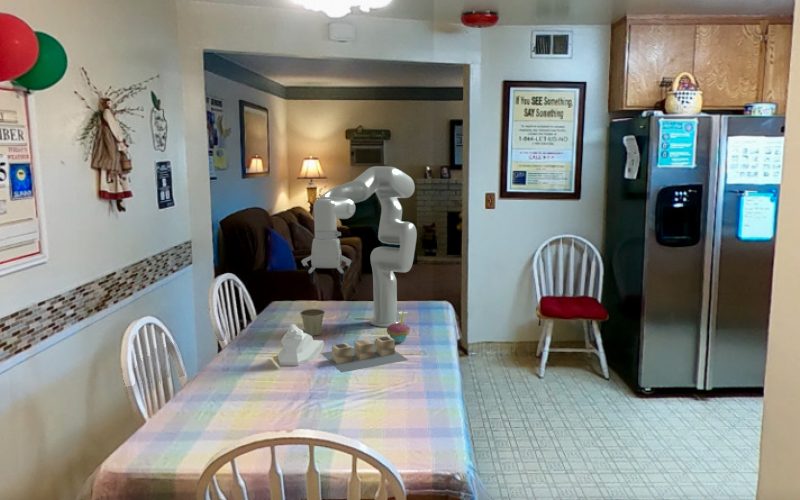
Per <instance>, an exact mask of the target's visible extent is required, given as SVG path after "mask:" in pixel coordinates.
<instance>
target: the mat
mask: <svg viewBox="0 0 800 500" xmlns="http://www.w3.org/2000/svg"><path fill="white" fill-rule="evenodd" d="M373 347H374V358H368V359H363V360H359V359H358V358H357V357H356V356H355V355H354V347H351V349H352V362H346V363H340V364H337V363H336V362H335V361H334V360H333V359H332V350H331V351H325V352H320V354H321V355H322V356H323V357H324V358H326V359H327V361H328V362H330V363H331V364H332V365H333V366H334V367H335V368H336V369H337V370H338V371H339V372H340V373H347V372H352V371H358V370H361V369H362V370H363V369H367V368H368V369H369V368H374V367H378V366H383V365H389V364H393V363H400V362H405V361H409V359H407V357H405V356H403V355H402V354H400V352H398V351H396V350H395V354H391V355H385V356H381V355H379V354H378V353H377V352H376V343H375V344H374V343H373Z"/></svg>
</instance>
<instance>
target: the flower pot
mask: <svg viewBox="0 0 800 500" xmlns="http://www.w3.org/2000/svg"><path fill="white" fill-rule="evenodd" d="M300 315H301V319H302V323H303V329H304V333H306V334H309V335H310V336H312V337H313V336H319V335H321V334H322V328H323V321H324V315H325V310H324V309H320V308H319V309H317V308H312V309H311V308H310V309H304V310H301V312H300Z"/></svg>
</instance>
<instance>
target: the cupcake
mask: <svg viewBox="0 0 800 500" xmlns="http://www.w3.org/2000/svg"><path fill="white" fill-rule="evenodd" d="M402 312H405V310H403V311H402ZM403 315H404V313H402V316H401V318H400V319H401V323H400V322H399V323H393V324H391V325H390V326H388V327H386V333H387V334H388V336H389V337H391V338H392V339H394V340H395V343H403V342H406V339H407V336H408V335H409V334H410V330H411V327H409V326H408V324H406V323H404V322H403V321H404V317H403Z"/></svg>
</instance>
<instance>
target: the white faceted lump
mask: <svg viewBox="0 0 800 500" xmlns="http://www.w3.org/2000/svg"><path fill="white" fill-rule="evenodd" d="M280 342H281V343H282V344H281V345H282V347H281V349H280V351H279V352H278V353H277V358H278V362H279V365H280V366H302V365H305V364H308V363H310V362H313V361H315V360H317V359H318V358H319V356H320V354H321V353H322V350H323V348H324V346H325V342H324V340H322V339H321V340H319V339H313V336H310V335H309V334H306V333H305V332H304V331H303V330H302V329H300V328H299V327H298V326H297V325H296V323H295V324H293V323H291V324H290V325H289V326H288V329H287V331H286V332H285V334H284V335H283V337H282V338H281V340H280Z"/></svg>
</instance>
